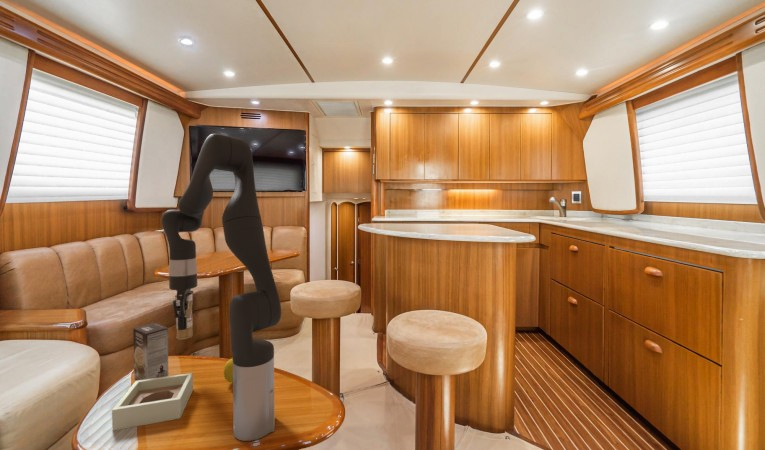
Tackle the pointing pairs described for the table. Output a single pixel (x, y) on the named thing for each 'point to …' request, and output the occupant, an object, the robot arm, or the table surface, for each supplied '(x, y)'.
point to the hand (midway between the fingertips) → (184, 326)
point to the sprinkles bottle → (188, 331)
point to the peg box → (153, 401)
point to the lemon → (229, 370)
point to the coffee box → (150, 351)
